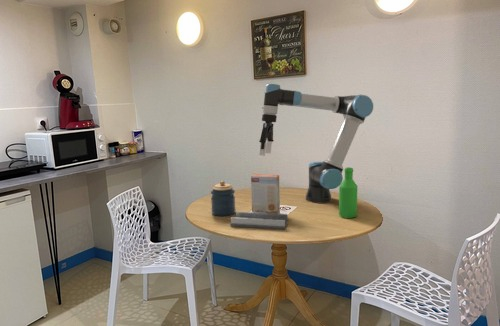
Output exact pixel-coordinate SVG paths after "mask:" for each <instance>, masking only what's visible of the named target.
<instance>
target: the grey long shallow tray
mask: <svg viewBox="0 0 500 326" xmlns="http://www.w3.org/2000/svg"><path fill="white" fill-rule="evenodd" d="M288 221H289V218H288V213H279V214H275V213H255V212H252V211H250V212H249V211H235V216H232V217H230V227H235V228H246V229H247V228H249V229H265V230H266V229H267V230H281V231H284V230H285V229H286V227H287V225H288V223H289V222H288Z"/></svg>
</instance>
